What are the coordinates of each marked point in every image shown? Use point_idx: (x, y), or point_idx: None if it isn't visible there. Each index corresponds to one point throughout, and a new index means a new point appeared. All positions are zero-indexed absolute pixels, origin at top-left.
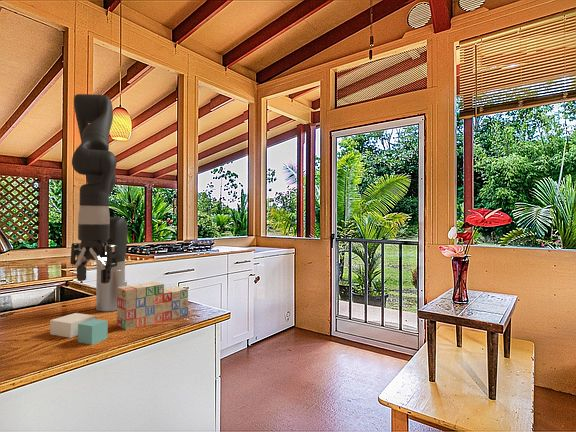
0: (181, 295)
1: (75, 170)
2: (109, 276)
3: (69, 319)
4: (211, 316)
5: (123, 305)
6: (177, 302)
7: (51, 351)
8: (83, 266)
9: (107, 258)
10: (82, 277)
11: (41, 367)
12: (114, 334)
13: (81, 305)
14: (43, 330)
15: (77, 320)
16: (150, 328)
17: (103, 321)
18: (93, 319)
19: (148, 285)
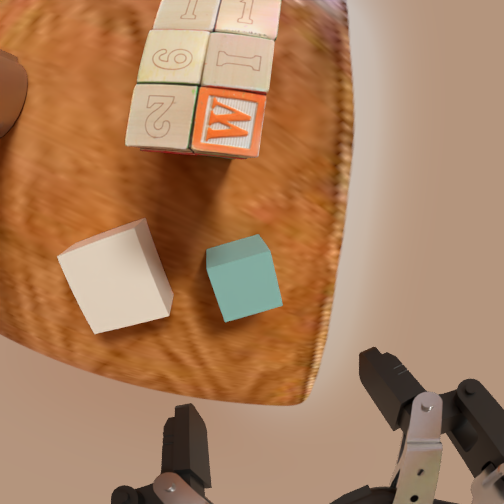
0: None
1: None
2: (403, 370)
3: (120, 301)
4: None
5: (218, 156)
6: None
7: (236, 349)
8: (195, 481)
9: (468, 452)
10: (199, 428)
11: (302, 374)
12: (242, 203)
13: None
14: (66, 309)
15: (149, 291)
16: (283, 104)
17: (266, 263)
18: (213, 273)
19: (249, 11)
